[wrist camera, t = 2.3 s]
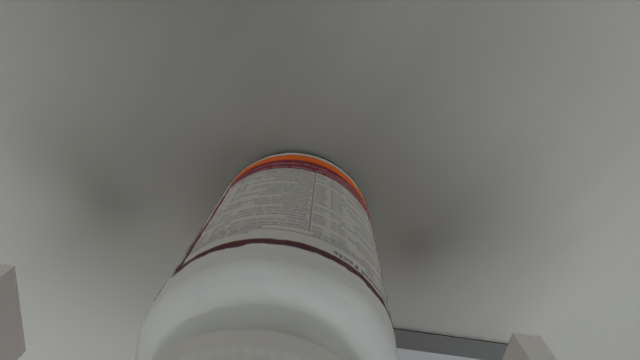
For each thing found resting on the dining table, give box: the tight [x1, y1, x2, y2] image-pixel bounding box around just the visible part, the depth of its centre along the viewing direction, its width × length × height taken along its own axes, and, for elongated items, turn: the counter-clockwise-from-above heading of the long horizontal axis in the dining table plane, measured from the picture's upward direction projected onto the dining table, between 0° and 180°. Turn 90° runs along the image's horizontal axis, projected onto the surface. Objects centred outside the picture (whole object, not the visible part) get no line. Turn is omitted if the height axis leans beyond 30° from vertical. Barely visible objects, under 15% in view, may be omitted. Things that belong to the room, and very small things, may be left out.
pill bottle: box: [135, 153, 398, 360], centre depth 12 cm, size 6×6×11 cm
